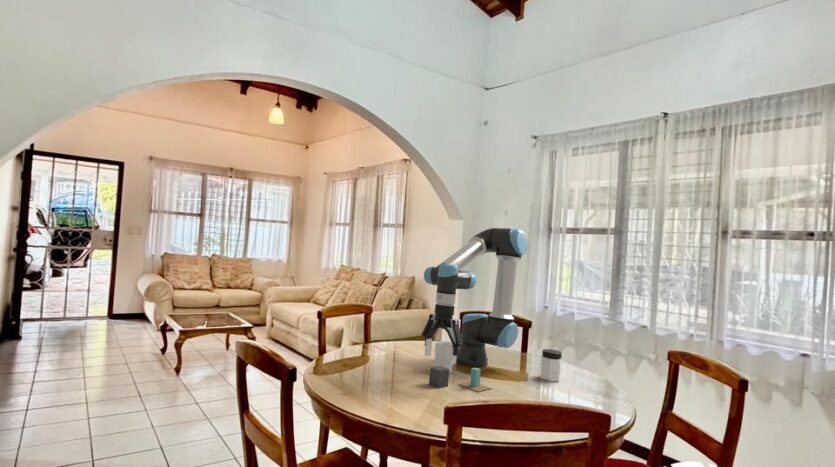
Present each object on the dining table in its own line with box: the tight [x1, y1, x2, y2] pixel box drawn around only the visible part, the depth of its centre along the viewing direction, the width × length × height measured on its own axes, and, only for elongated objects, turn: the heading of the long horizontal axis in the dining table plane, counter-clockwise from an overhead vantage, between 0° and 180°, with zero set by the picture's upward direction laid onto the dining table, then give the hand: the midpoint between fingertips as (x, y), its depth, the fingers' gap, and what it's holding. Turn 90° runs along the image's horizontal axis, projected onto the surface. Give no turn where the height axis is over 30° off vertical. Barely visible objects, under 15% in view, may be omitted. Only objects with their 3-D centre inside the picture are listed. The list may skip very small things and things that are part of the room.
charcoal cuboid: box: [428, 365, 450, 389], centre depth 172 cm, size 5×5×7 cm
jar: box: [539, 348, 562, 382], centre depth 196 cm, size 9×8×12 cm
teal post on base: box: [458, 367, 492, 393], centre depth 174 cm, size 10×8×7 cm
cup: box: [434, 340, 454, 374], centre depth 193 cm, size 9×9×12 cm
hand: (439, 359), depth 172 cm, fingers open, 13 cm apart
